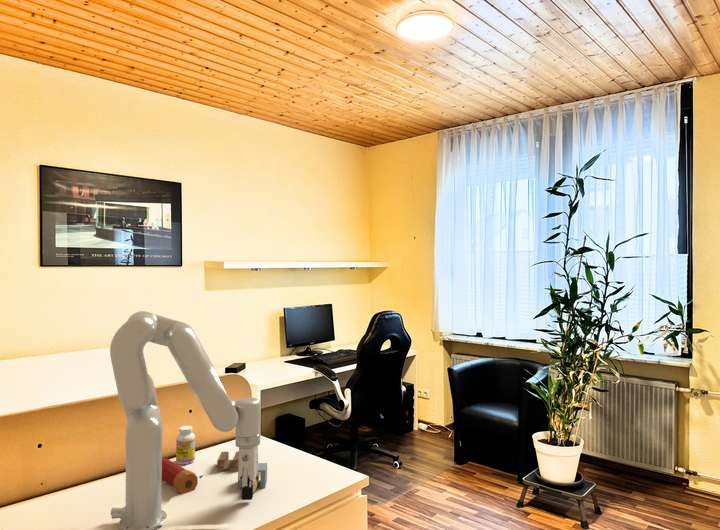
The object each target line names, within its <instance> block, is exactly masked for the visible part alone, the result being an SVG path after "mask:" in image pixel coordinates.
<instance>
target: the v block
mask: <svg viewBox="0 0 720 530" xmlns="http://www.w3.org/2000/svg"><path fill="white" fill-rule="evenodd" d="M229 455H230V453H229V451H221V452H220V455H219V457H218V458H217V460H216V464H217V465H216V467H217V468H216V470H217V472H220V473H221V472H238V462H239V450H238V451H236V452H235V453H234V456H233V457H232V458H233V459H230V458H229ZM217 472H216V473H217Z"/></svg>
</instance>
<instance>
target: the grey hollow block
mask: <svg viewBox="0 0 720 530" xmlns="http://www.w3.org/2000/svg"><path fill="white" fill-rule="evenodd" d="M258 472H260V477H259V481H258V484H257V488H256V489H265V488H266V486H267V482H268V462H258ZM237 489H240V490H241V489H242V479H241V481H240V480H239V476H238V475H237Z"/></svg>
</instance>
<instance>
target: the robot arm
mask: <svg viewBox="0 0 720 530" xmlns="http://www.w3.org/2000/svg"><path fill="white" fill-rule="evenodd" d="M148 343H153V344H156V345H159V346H164V347H166V348H167V349H168V350H169V352H170V354H171V356H172V357H173V359H174V361H175V362H176V364H177V366H178V368H179V369H180V371H181V372H182V375H183V376H184V378H185V380H186V382H187V384H188V385H189V387H190V389H191V391H192V392H193V393H194V394H195V396H196V397H197V399H198V400H199V403H200V405H201V406H202V409H203V410H204V412H205V414H206V416H207V417H208V419H209V420H210V423H211V425H213V428H215V429H216V430H217V431H218V432H221V433H226V432H230V431H232V430H234V428H235V438H234V439H235V444H234V445H235V446H236V447H237V448H238V451H239V462H238V471H237V477H238V476H239V480H240V481H241V479H242V488H241V500H242V501H252V500H253V497H254V494H253V485H252V484H253V481H254V480H255V478H256V475H257V472H258V463H259V447H258V446H260V445H261V412H262V411H261V408H262V406H261V405H262V404H261V401H260V400H259V399H258V398H255V397H243V398H238V399H237V398H230V397H229V395H228V394H227V392H226V389H225V387H224V385H223V383H222V382H221V380H220V377H219V375H218V372H217V370H216V368H215V365H214V364H213V362H212V361H211V359H210V358H209V355H208V353H207V351H206V350H205V348H204V347H203V345H202V343H201V341H200V339H199V337H198V336H197V334H196V332H195V331H194V329H193V327H192V326H190V325H189V324H188V323H185V322H183V321H179V320H176V319H172V318H169V317H166V316H163V315H159V314H157V313H153V312H149V311H143V310H142V311H141V310H140V311H137V312H134V313H133V314H131V315H130V316H129V317H128V318H127V320H126V322H124V323H123V324H122V325H121V326H120V327H119V328H118V330H117V331H116V332H115V333H114V335H113V337H112V340H111V342H110V346H109V347H110V348H109V354H110V355H109V356H110V362H111V366H112V372H113V376H114V380H115V385H116V390H117V391H116V392H117V397H118V400H119V403H120V404H121V405H122V406H123V411H124V413H125V418H126V428H125V505H124V506H123V507H112V508H111V510H110V515H111V519H120V520H119V524H118V527H119V530H158V529H159V528H161V527H162V524H163V523H164V522H165V521H167V517H168V513H167V512H166V511H164V509H162V492H163V490H162V481H163V480H162V458H163V438H164V437H163V432H164V431H163V429H164V428H163V418H162V412H161V410H160V409H161V407H160V405H159V400H158V396H157V391H156V387H155V383H154V380H153V378H152V377H151V375H150V374H149V373H148V368H147V364H146V359H145V355H144V348H145V347H146V345H147V344H148Z"/></svg>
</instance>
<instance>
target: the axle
mask: <svg viewBox="0 0 720 530" xmlns="http://www.w3.org/2000/svg"><path fill="white" fill-rule="evenodd" d="M259 480H260V472H257V475H256V478H255V480H254V481H253V484H252V485H253V495H255V493H256V491H257V489H258V488H257V484H258V481H259Z"/></svg>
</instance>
